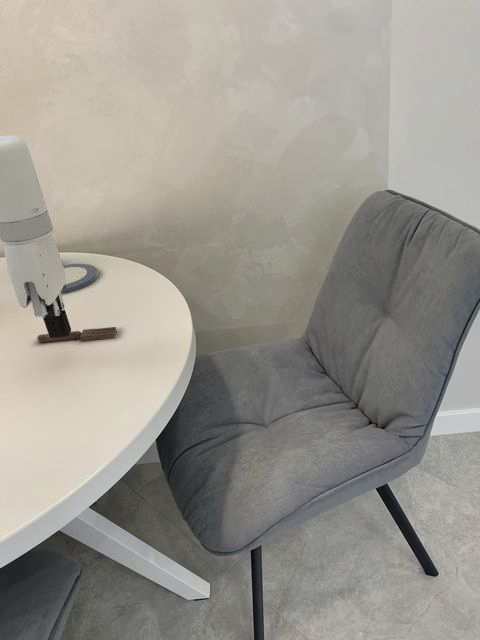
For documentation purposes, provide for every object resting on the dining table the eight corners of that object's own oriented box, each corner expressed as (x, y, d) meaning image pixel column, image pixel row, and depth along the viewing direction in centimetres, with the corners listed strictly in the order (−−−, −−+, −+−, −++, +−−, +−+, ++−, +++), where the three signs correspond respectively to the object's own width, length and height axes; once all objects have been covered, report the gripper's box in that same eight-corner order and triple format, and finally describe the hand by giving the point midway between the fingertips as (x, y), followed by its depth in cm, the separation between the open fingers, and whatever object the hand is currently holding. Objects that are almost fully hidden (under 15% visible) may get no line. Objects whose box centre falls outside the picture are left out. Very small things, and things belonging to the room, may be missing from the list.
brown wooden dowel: (36, 345, 97) (34, 339, 96) (40, 338, 99) (38, 331, 99) (114, 338, 97) (112, 331, 96) (117, 331, 99) (115, 324, 99)
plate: (24, 297, 115) (23, 292, 115) (44, 270, 127) (42, 266, 127) (90, 291, 115) (89, 286, 115) (103, 264, 127) (102, 260, 127)
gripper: (16, 213, 86) (51, 315, 96) (-21, 248, 74) (23, 361, 83) (63, 208, 86) (93, 311, 96) (34, 242, 74) (72, 356, 83)
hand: (60, 334), depth 90 cm, fingers closed
